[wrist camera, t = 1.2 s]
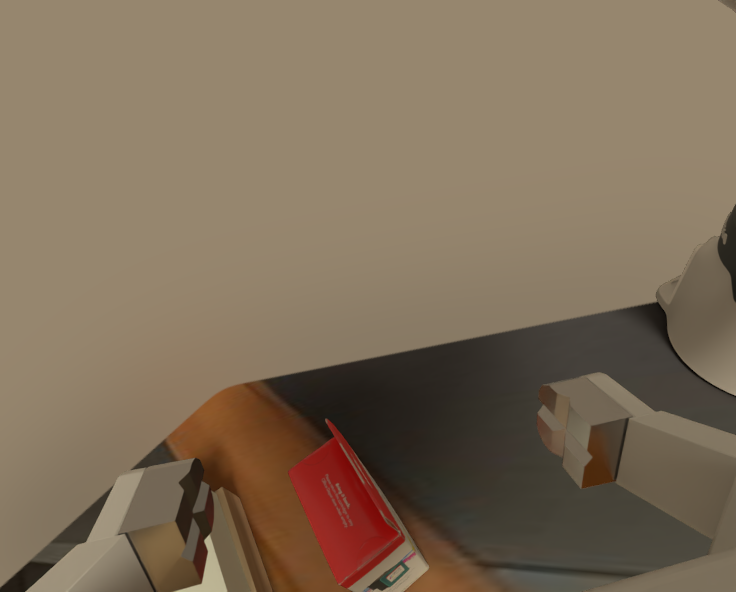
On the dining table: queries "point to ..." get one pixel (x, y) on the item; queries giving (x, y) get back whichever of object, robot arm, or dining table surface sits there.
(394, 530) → the ink box
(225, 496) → the maple base block
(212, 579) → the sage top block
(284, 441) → the dining table surface
